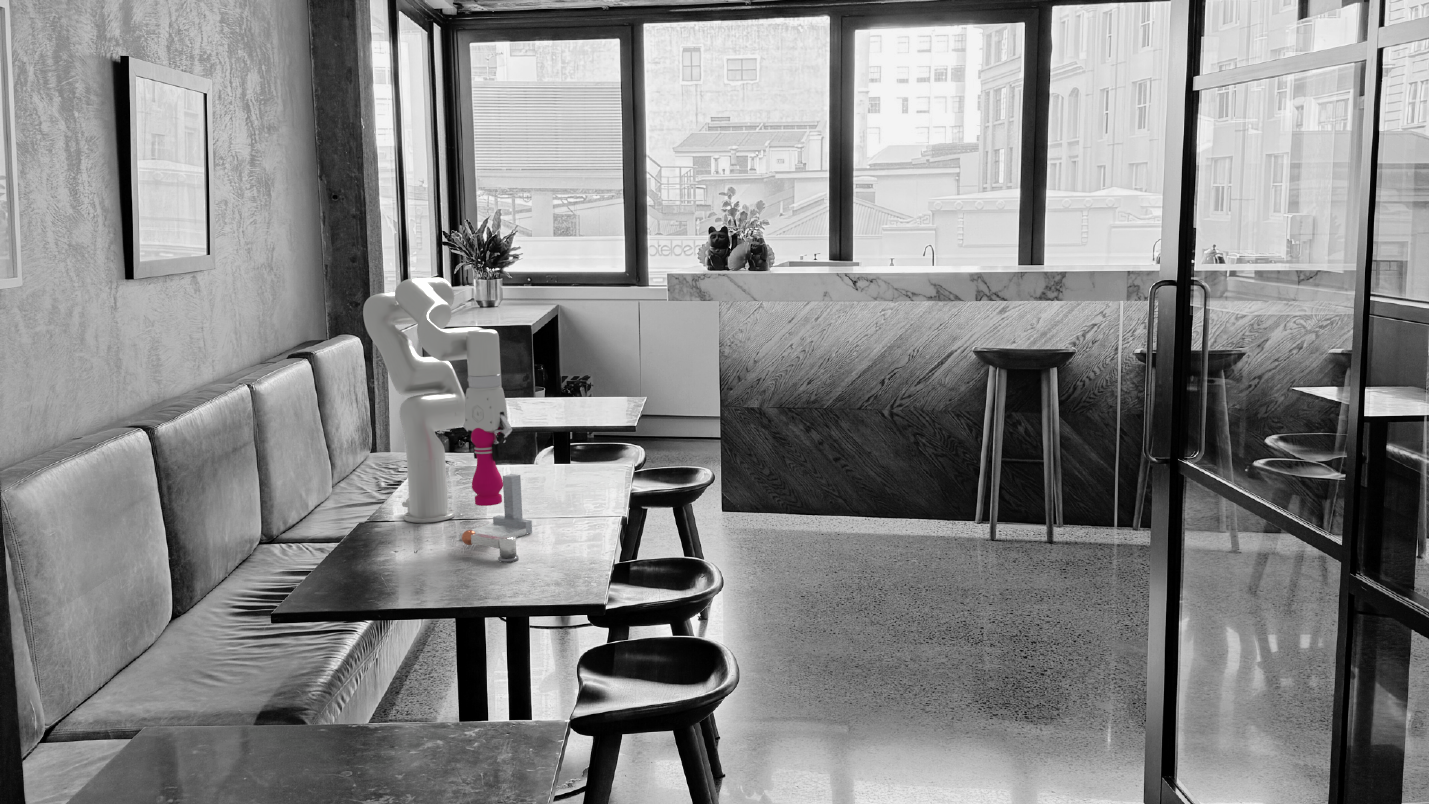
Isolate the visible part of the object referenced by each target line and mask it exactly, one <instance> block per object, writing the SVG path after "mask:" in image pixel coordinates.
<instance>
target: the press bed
mask: <svg viewBox="0 0 1429 804" xmlns="http://www.w3.org/2000/svg"><path fill="white" fill-rule="evenodd" d="M502 480H503V487H502V489H503V507H504V509H503V510H504V515H496V516H493V517H492V523H489V524H485V525H483V526H477V527H475V528H472V529H470V530H472V531H474V532H475V533H479V534H485V535H490V536H496V537H504V536H514V537H517V538H519V537H518V536H520V537H523V536H525V534H526V535H528V534H527V533H530V534H532V533H533V521H532V520H530V519H524V518H523V504H522V503H523V502H522V482H521V474H516V473H509V474H506V475H502ZM465 531H466V530H465ZM465 531H461V532H459V540H462V534H463V533H464V532H465ZM497 560H499V561H501V562H500V563H504V562H507V563H514V562H517V561H519V555H518V554H517V555H516V556H515V557H512V558H501V557H500V555H499V556H498V557H497ZM516 560H517V561H516ZM499 561H498V562H499ZM513 561H514V562H513Z"/></svg>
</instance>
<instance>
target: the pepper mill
mask: <svg viewBox="0 0 1429 804" xmlns="http://www.w3.org/2000/svg"><path fill="white" fill-rule="evenodd" d="M471 440H472V441H471ZM470 441H471V442H472V444H473V443H474V444H475V446H476V447H474V448H473V454H474V453H476V456H477V459H476V467H475V471H474V474H473V477H472V480H471V489H472V491H473V492H474V493H475V494H476V495H475V496H474V504H475V506H479V507H480V506H481V507H484V506H485V507H487V506H496V505H499V504H501V503H503V496H502V493H500V492H501V491H502V489H503V476H502V475H501V473H500V471H499V469H498V467H497V464H496V461H493V458H492V444H494V442H493V434H492V432H486V431H484V430H483V429H481V428H475V429H474V430H473V432H472V434H471V437H470ZM474 449H475V451H474Z"/></svg>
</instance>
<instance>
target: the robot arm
mask: <svg viewBox="0 0 1429 804" xmlns="http://www.w3.org/2000/svg"><path fill="white" fill-rule="evenodd" d="M454 301H455V292H454V289H453V286H452V285H451V283H450V282H449V281H448V280H446V278H443V277H417V278H408V279H405V280H403V281H401V282H400V283H399V284H398V285H397V286H396V288H395V289H394V291H392V292H391V291H390V292H382V293H376V294H373V295H371V296H369V297H368V298H367V299H366V301H365V302H364V304H363V308H362V310H363V311H362V315H363V322H364V326H365V329H366V332H367V334H368V336H369V337H370V338H371V340H372V341H373V343H374V345H375V346H376V348H377V349H378V351H379V352H380V354H381V356H382V359H383V363H384V365H385V367H386V369H387V372H388V375H389V378H390V379H391V382H392V384H393V387H394V389H395V391H396V392H397V393H398V394H400V395H402V396H410V397H408V398H406V399H405V400H404V401H403V402H402V403H401V405H400V407H399V418H400V423H401V426H402V430H403V437H404V442H405V452H406V454H405V456H406V467H407V468H406V469H407V470H406V471H407V483H408V498H407V499H406V500H405V501H403V502H401V503H402V504H401V505H402V507H403V508H407V512H406V513H404V515H403V519H404V521H406V522H409V523H414V524H415V523H417V524H420V523H423V524H424V523H425V524H426V523H428V524H429V523H436V522H442V521H446V520H447V521H448V520H450V519H452V518H454V516H456V512H455V510H454V509H453V508H449V501H448V500H449V499H448V498H449V497H448V484H447V483H448V482H447V480H448V478H447V467H446V465H447V464H446V450H445V446H444V444H443V442H442V441H441V439H440V438H439V437H438V436H437V434H436V432H438V431H445V430H451V429H457V428H460V427H463V428H464V430H466V432H467V434H468V435H469V437H470V438H471V434H472V432H473V430H474V429H475V428H481V429H483V430H484V431H486V432H492V434H493V442H494V444H492V458H493V461H495V462H497V461H502V460H505V447H504V444H505V443H506V441H507V440H506V439H507V438H508V437H509V435H510V434H511V433H512V431H513V428H512V425H510V423H509V421H508V411H507V410H508V409H507V404H506V397H505V393H504V392H505V391H504V389H503V387H502V370H501V369H502V368H501V353H500V352H501V350H500V336H499V335H500V334H499V333H498V331H497V330H495V329H491V328H489V329H487V328H482V327H479V326H469V327H454V328H446V327H447V326H448V324H449V322H450V320H452V319H451V318H452V314H453V312H452V308H451V307H452V306H453V304H454ZM414 324H415V325H416V324H417V326H416V334H417V338H418V341H419V344H420V346H421V347H422V349H423V350H424V351H425V352H426V353H427V354H428V355H430V356H421V355H419V354H418V351H417V349H416V347H415V345H414V342H413V341H412V339H411V338H410V337H409V336H408V335H407V334H405V333H404V332H403V331H402V330H400V329H399V328H398V327H396V325H397V326H399V325H414ZM461 360H467V362H466V363H467V380H466V381H467V382H468V387H467V388H466V391H465V393H464V390H463V388H462V385H461V383H460V381H459V378H458V375H457V373H456V371H455V369H454V367H453V365H452V363H451V362H452V361H461ZM470 441H471V442H472V440H471V439H470ZM472 444H473V445H472V446H473V458H474V459H476V460H477V456H476V453H474V451H475V449H474V447H476V446H475V444H474V443H473V442H472Z"/></svg>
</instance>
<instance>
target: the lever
mask: <svg viewBox="0 0 1429 804" xmlns="http://www.w3.org/2000/svg"><path fill="white" fill-rule="evenodd" d="M463 532H464V531H463ZM461 540H462V543H463V544H464V545H466V546H472V545H478V546H483V547H488V548H494V549H499V556H500V557H501V558H512V557H515V556H516V555H518V554H517V539H516V537H514V536H504V537H496V536H490V535H485V534H479V533H475V532H474V531H472V530H471V529H467V530H465V532H464V533H463V534H462V539H461Z"/></svg>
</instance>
